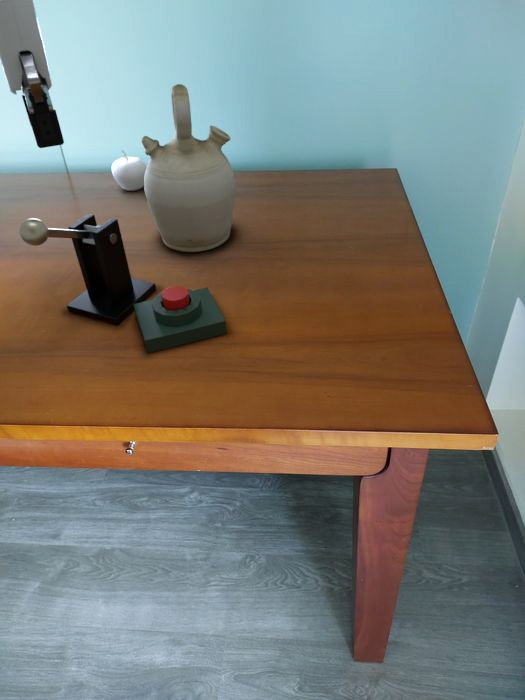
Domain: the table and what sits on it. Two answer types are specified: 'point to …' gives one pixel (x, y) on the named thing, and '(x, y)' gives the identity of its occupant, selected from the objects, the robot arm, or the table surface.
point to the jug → (189, 183)
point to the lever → (52, 232)
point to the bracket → (106, 275)
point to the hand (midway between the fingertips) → (47, 134)
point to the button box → (179, 321)
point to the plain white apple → (129, 172)
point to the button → (175, 298)
